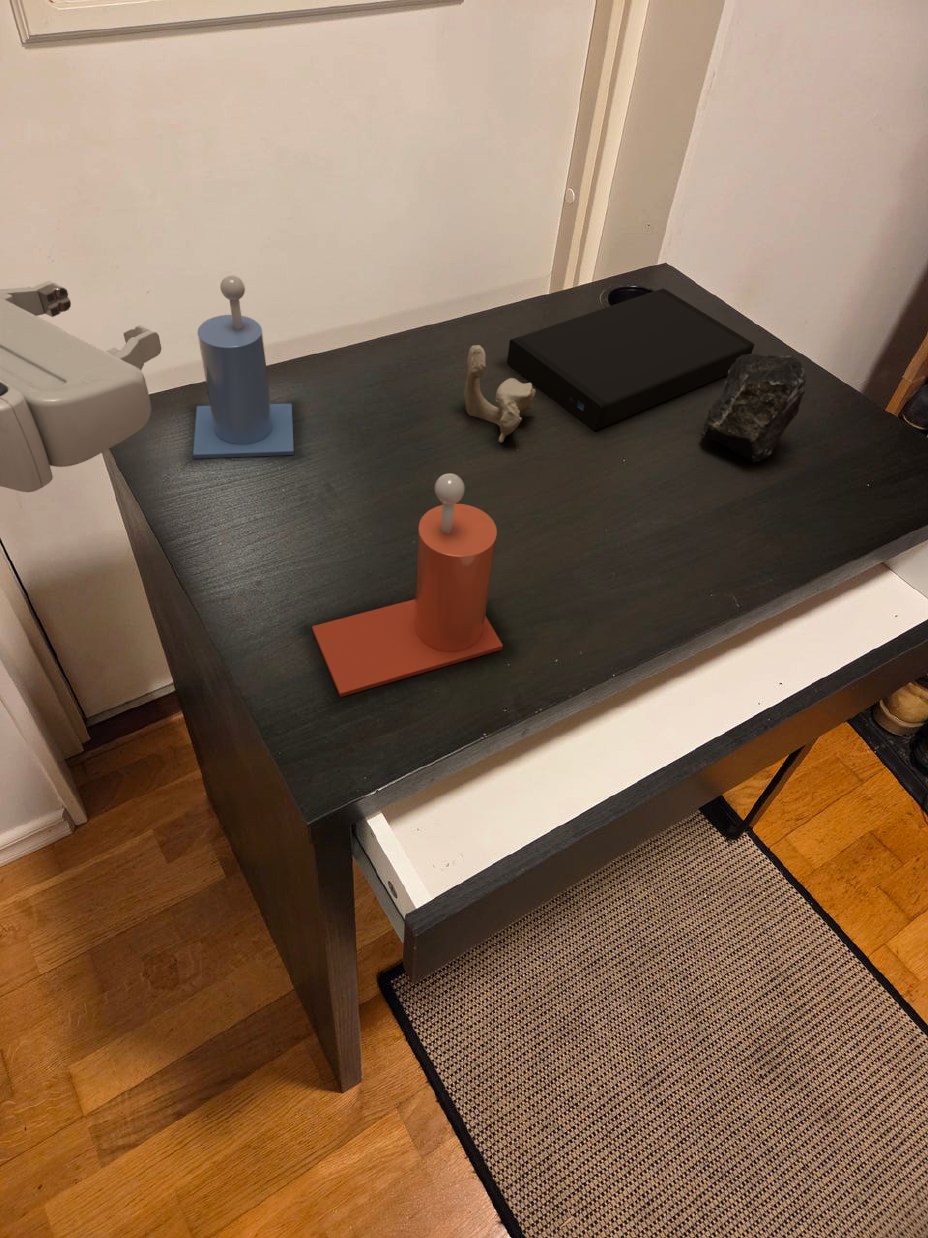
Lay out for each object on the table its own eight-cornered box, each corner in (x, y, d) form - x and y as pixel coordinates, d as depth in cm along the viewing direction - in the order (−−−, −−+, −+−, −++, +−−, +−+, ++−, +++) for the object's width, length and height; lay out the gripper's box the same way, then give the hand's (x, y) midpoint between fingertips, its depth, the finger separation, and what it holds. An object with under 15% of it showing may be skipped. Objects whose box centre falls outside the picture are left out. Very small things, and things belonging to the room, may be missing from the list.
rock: (786, 445, 86) (824, 356, 79) (759, 480, 82) (797, 390, 75) (714, 415, 89) (745, 326, 81) (685, 447, 85) (714, 357, 77)
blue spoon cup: (234, 451, 78) (210, 301, 67) (203, 423, 81) (175, 273, 70) (283, 430, 81) (269, 283, 70) (252, 403, 83) (233, 257, 72)
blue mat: (193, 458, 78) (192, 454, 77) (197, 410, 83) (196, 405, 82) (294, 455, 79) (293, 450, 79) (291, 407, 84) (291, 403, 84)
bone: (566, 425, 83) (529, 353, 75) (514, 467, 83) (472, 400, 75) (521, 384, 88) (482, 313, 80) (473, 424, 88) (429, 357, 81)
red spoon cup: (418, 654, 64) (426, 505, 53) (410, 601, 67) (416, 451, 56) (489, 649, 65) (511, 501, 54) (477, 597, 68) (496, 448, 57)
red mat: (339, 697, 61) (339, 693, 61) (312, 630, 65) (311, 626, 65) (502, 649, 65) (503, 645, 65) (466, 589, 69) (467, 584, 69)
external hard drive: (746, 368, 95) (754, 343, 93) (594, 431, 85) (600, 406, 83) (656, 311, 103) (662, 287, 100) (506, 363, 92) (509, 338, 90)
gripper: (-146, 382, 59) (25, 307, 67) (51, 504, 52) (215, 404, 61) (-191, 296, 55) (-2, 226, 63) (19, 418, 48) (201, 322, 56)
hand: (106, 315), depth 62 cm, fingers open, 8 cm apart
